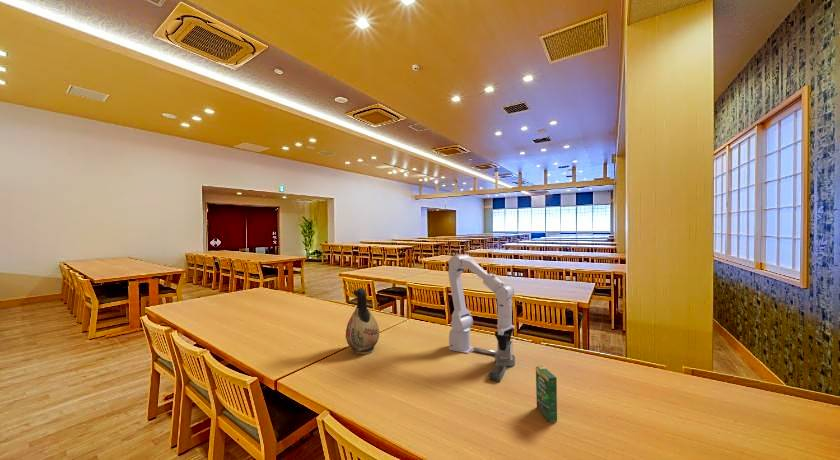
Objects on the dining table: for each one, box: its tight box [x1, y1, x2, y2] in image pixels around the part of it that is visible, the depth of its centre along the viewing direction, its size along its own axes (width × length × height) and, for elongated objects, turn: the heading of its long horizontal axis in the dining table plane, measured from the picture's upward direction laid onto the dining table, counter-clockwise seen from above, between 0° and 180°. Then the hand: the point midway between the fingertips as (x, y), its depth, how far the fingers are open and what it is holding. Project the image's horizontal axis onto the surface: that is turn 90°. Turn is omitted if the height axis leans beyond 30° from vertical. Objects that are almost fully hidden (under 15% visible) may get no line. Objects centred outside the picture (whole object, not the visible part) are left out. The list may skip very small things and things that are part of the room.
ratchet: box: [489, 353, 516, 383], centre depth 123 cm, size 8×20×6 cm, turn 152°
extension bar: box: [472, 346, 498, 356], centre depth 138 cm, size 13×2×2 cm, turn 62°
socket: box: [496, 340, 514, 359], centre depth 128 cm, size 5×5×6 cm
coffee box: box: [535, 365, 558, 423], centre depth 94 cm, size 8×3×13 cm, turn 6°
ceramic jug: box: [345, 287, 380, 355], centre depth 142 cm, size 17×15×30 cm
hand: (504, 346), depth 128 cm, fingers open, 7 cm apart
